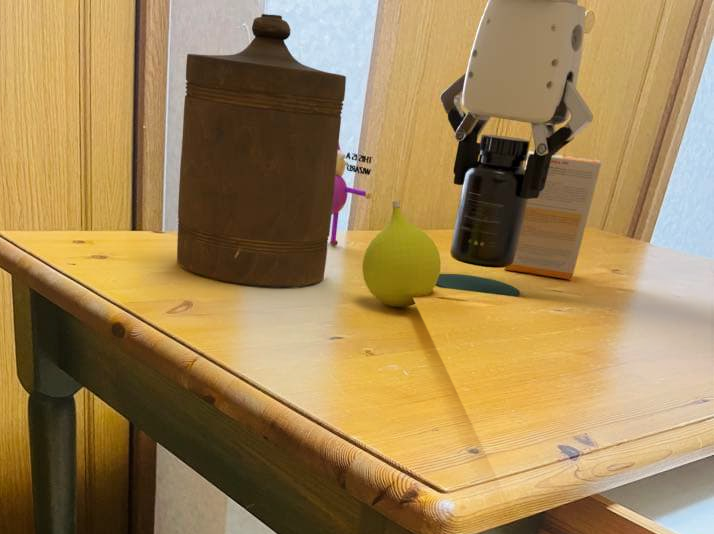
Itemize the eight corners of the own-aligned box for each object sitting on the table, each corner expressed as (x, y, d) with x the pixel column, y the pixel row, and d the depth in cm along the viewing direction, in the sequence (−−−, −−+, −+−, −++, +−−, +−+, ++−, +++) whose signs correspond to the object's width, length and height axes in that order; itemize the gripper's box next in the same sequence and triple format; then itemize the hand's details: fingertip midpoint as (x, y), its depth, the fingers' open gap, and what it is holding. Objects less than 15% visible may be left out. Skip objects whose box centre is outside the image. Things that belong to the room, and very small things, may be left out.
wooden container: (273, 251, 94) (295, 22, 83) (352, 286, 84) (388, 29, 73) (151, 252, 86) (157, -1, 75) (221, 290, 76) (241, 3, 65)
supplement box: (569, 274, 104) (600, 159, 98) (571, 281, 100) (603, 162, 94) (503, 263, 105) (528, 148, 99) (502, 269, 101) (528, 151, 95)
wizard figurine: (369, 253, 100) (386, 143, 94) (353, 255, 98) (369, 142, 92) (298, 234, 106) (310, 128, 100) (282, 235, 104) (292, 128, 98)
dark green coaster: (509, 282, 95) (509, 280, 95) (528, 302, 87) (529, 300, 87) (425, 271, 95) (425, 269, 95) (437, 291, 86) (437, 289, 86)
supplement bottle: (459, 251, 93) (483, 132, 87) (519, 263, 91) (547, 142, 85) (440, 258, 88) (464, 132, 82) (503, 272, 86) (532, 143, 80)
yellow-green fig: (363, 291, 82) (379, 182, 77) (434, 303, 81) (455, 193, 77) (352, 307, 76) (369, 189, 71) (429, 320, 75) (451, 202, 70)
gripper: (645, -4, 76) (589, 206, 85) (475, -16, 84) (440, 176, 93) (616, -17, 70) (559, 208, 79) (438, -28, 79) (404, 176, 88)
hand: (495, 189), depth 86 cm, fingers closed on supplement bottle, 6 cm apart
